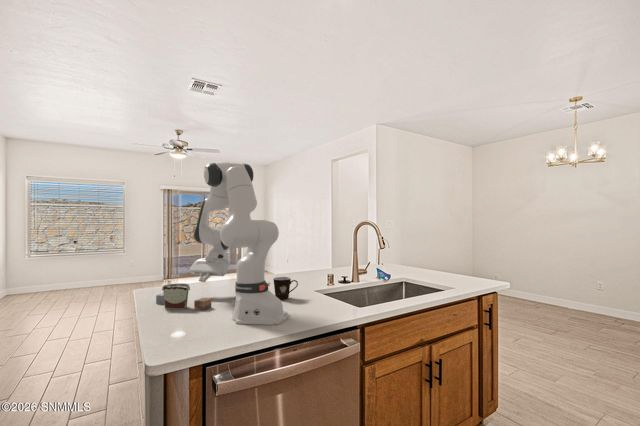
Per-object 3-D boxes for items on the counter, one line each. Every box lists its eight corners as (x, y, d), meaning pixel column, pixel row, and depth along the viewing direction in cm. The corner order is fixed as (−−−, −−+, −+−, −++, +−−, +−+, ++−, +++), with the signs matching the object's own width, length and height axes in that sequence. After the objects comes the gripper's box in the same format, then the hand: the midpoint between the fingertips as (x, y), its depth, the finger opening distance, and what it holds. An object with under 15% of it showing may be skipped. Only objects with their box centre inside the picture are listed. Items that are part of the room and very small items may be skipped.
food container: (195, 305, 140) (195, 283, 140) (188, 309, 134) (188, 286, 134) (169, 304, 141) (170, 282, 141) (161, 308, 135) (161, 285, 135)
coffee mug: (270, 300, 148) (271, 279, 148) (276, 296, 157) (276, 276, 157) (294, 301, 146) (294, 280, 146) (298, 297, 155) (298, 277, 155)
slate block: (172, 301, 146) (172, 293, 146) (164, 304, 142) (164, 295, 142) (164, 301, 148) (164, 292, 148) (156, 303, 143) (156, 295, 143)
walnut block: (211, 307, 136) (211, 298, 136) (203, 310, 132) (203, 301, 132) (202, 306, 138) (202, 297, 138) (194, 309, 133) (194, 300, 133)
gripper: (194, 254, 163) (181, 276, 153) (228, 256, 157) (216, 278, 147) (200, 262, 167) (187, 283, 157) (232, 263, 161) (221, 286, 151)
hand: (201, 281), depth 152 cm, fingers closed
